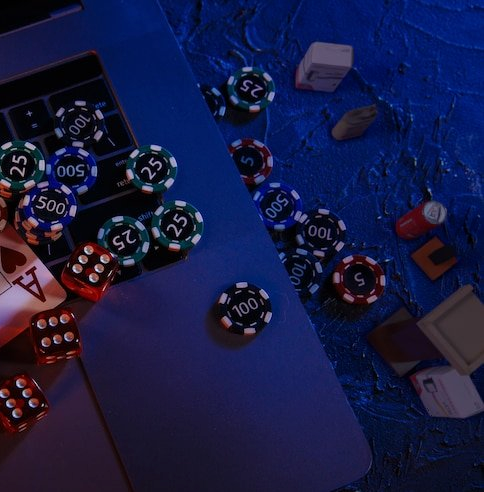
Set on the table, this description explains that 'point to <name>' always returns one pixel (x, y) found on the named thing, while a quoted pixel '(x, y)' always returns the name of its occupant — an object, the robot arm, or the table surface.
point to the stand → (402, 342)
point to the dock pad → (458, 330)
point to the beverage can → (421, 220)
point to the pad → (427, 262)
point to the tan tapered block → (354, 122)
